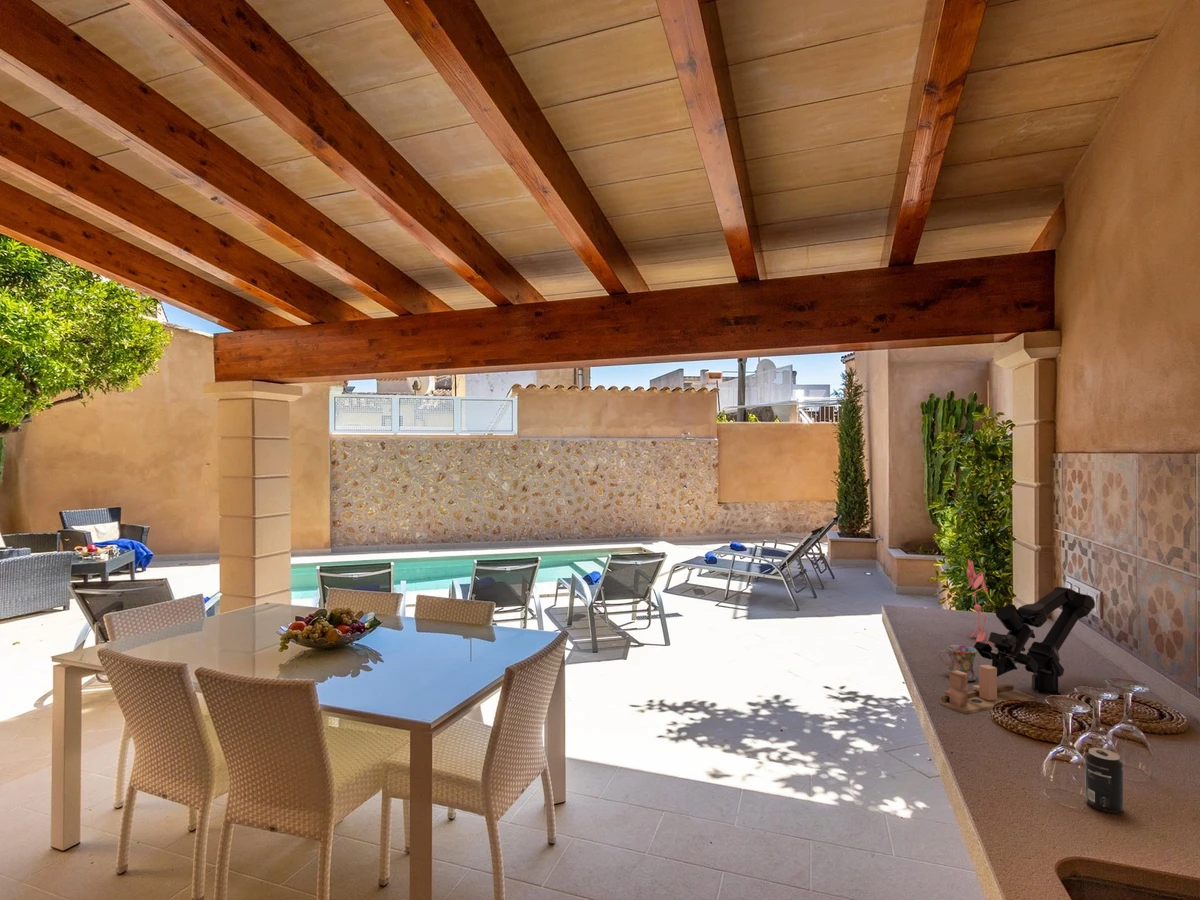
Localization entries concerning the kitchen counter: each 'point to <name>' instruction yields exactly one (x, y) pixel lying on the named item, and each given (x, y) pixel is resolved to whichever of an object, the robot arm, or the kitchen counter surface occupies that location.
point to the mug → (962, 659)
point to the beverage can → (1104, 780)
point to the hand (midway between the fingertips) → (992, 677)
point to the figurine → (978, 582)
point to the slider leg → (987, 682)
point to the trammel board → (975, 695)
